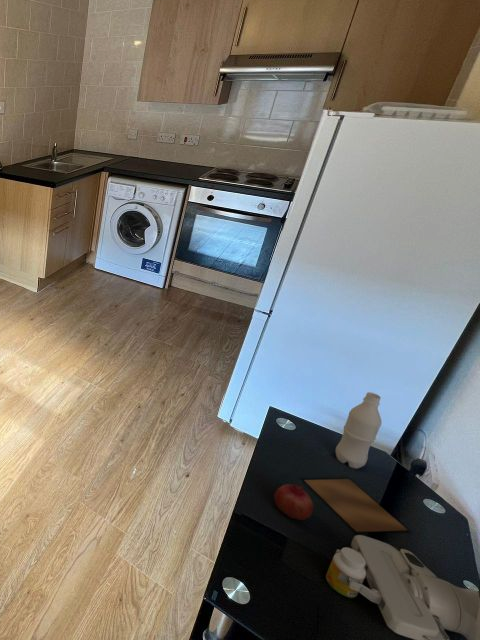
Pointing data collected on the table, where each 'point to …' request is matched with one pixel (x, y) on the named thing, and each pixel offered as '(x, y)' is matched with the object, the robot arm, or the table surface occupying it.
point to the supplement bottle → (346, 571)
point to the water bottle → (360, 432)
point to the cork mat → (354, 506)
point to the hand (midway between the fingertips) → (342, 567)
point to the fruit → (294, 501)
